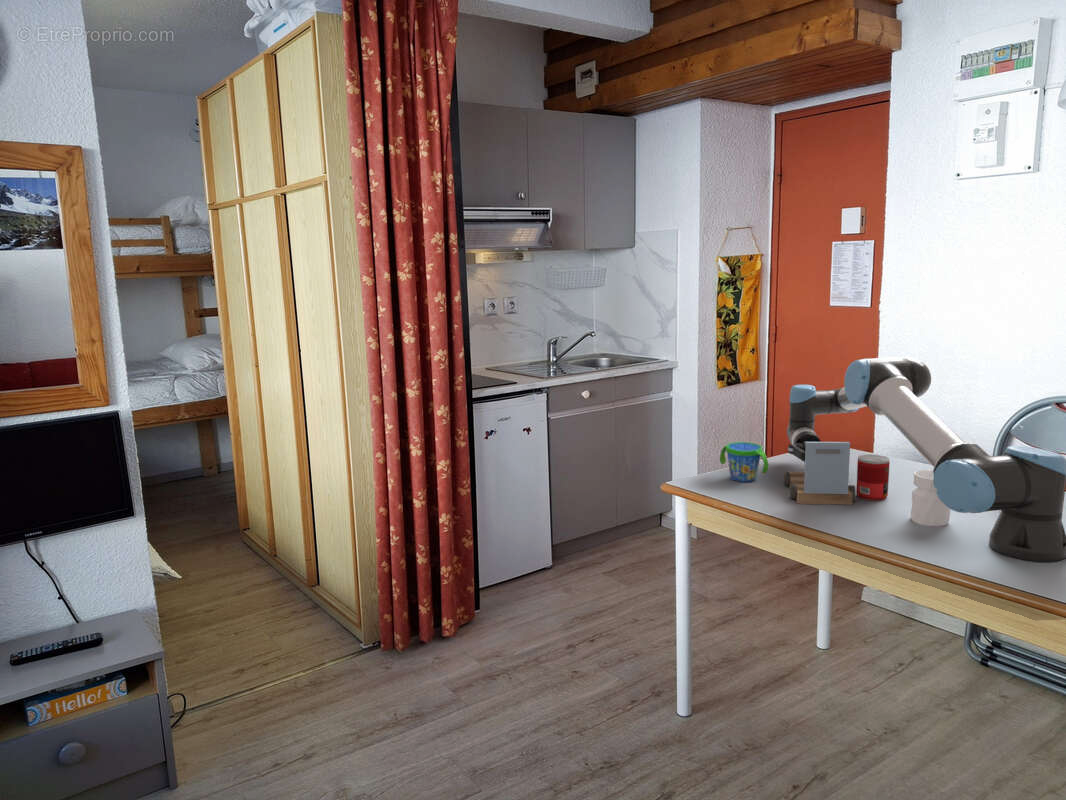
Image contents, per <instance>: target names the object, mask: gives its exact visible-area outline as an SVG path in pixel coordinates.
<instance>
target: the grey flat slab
mask: <svg viewBox="0 0 1066 800" xmlns="http://www.w3.org/2000/svg"><path fill="white" fill-rule="evenodd" d="M850 452H851V442H850V441H821V442H806V449H805V461H804V472H805V479H804V493H816V494H848V486H849V481H850V479H849V475H850V458H851V457H850V454H851V453H850Z"/></svg>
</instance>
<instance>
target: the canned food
mask: <svg viewBox="0 0 1066 800" xmlns="http://www.w3.org/2000/svg"><path fill="white" fill-rule="evenodd" d="M890 461H891V460H890V458H889V457H888V456H885V455H879V454H868V453H867V454H861V455H859V456H858V457H857V464H856V465H857V466H856V469H857V470H856V471H857V472H856V487H855V492H856V496H857V497H858V498H860V499H863V500H866V501H875V502H876V501H884V500H886V499H887V497H888V495H889V482H890V481H889V480H890V479H889V478H890V463H891V462H890Z"/></svg>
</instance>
